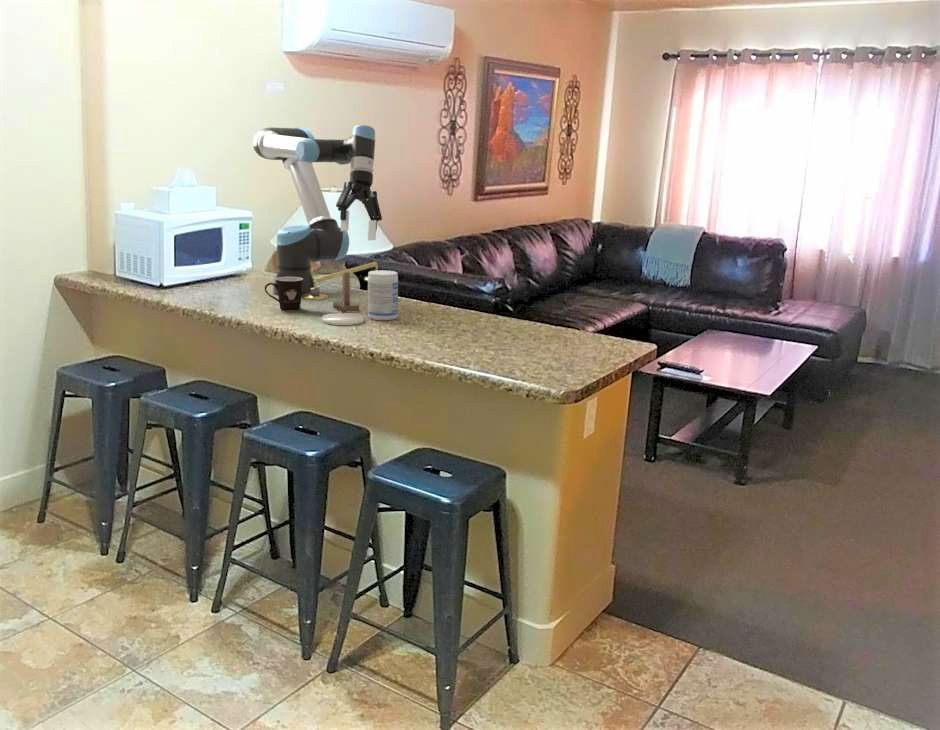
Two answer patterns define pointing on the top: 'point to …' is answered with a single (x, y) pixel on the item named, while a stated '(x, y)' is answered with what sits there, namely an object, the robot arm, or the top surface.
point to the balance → (346, 303)
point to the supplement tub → (382, 295)
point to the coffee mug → (288, 292)
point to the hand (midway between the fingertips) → (358, 235)
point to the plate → (342, 319)
